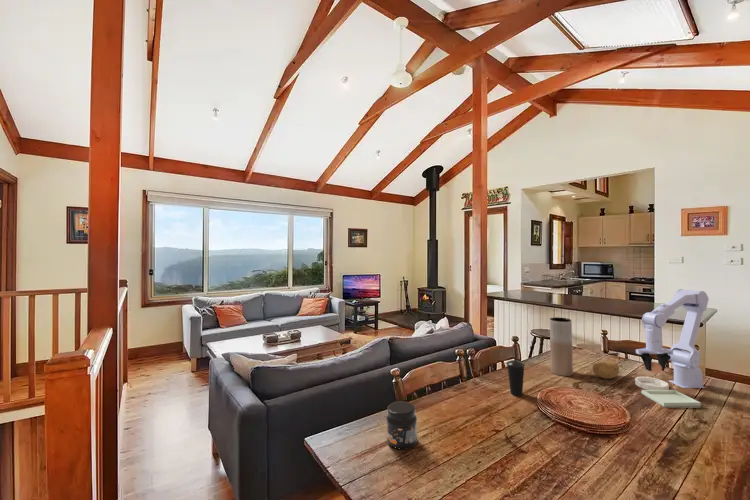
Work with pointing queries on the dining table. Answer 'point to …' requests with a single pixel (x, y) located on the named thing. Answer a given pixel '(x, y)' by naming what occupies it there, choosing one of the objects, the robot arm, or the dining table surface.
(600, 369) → the potato
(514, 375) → the drinking cup
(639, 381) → the dish
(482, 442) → the dining table surface
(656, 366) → the ball
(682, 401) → the tray
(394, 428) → the supplement container
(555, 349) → the vase
